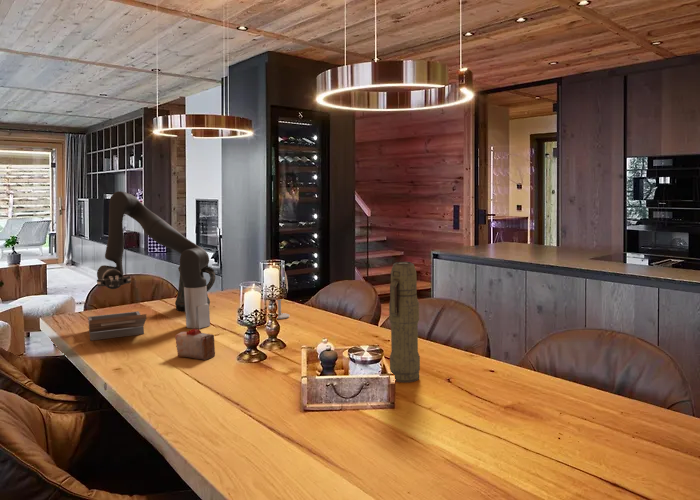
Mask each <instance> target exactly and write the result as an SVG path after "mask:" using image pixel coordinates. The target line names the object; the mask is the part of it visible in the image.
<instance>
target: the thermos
mask: <svg viewBox="0 0 700 500" xmlns="http://www.w3.org/2000/svg"><path fill="white" fill-rule="evenodd" d="M417 280H418V278H417V270H416V266H415V264H414V263H412V262H410V261H397V262H395V263H393V264H392V267H391V271H390V284H389V297H390V298H389V303H388V304H389V305H388V313H389V315H388V317H389V319H388V320H389V322H390V332H391V334H390V336H391V338H390V339H391V344H390V345H391V348H390V349H391V352H390V355H389V370H390V373H391V372H392V373H393V374H394V375H395V379H396V381H395V382H397V383H414V382H416V381H419V380H420V370H421V363H420V362H421V357H420V353H419V343H418V341H419V340H418V338H419V337H418V336H419V335H418V332H419V331H418V329H419V328H418V327H419V326H418V324H419V321H420V301H419V299H418V295H417V294H418V293H417V292H418V291H417V289H418V288H417V287H418V286H417V282H418V281H417Z"/></svg>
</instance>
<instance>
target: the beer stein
mask: <svg viewBox="0 0 700 500" xmlns="http://www.w3.org/2000/svg"><path fill="white" fill-rule="evenodd" d="M178 272H179V279H178V280H179V282H178V289H177V297H176V299H175V302H174V304H175V310H176V311H178V312H183V313H185V296H184V283H183V281H182V278H181V269H180V265H179V266H178ZM204 273H207V274H208V275H209V277H210V278H209V280H208V283H206V286H207V293H208V292H209V291H210V290H211V289H212V287H213V286H214V285H215V283H216V282H215V281H216V272H215V269H213V267H211V266H209V264H208V265H207V266H206V267H204V268H202V269H200V275H201V277H202V278H205V277H204V276H205V275H204ZM207 304H209V306H210V304H211V301H210V298H209V296H208V294H207Z"/></svg>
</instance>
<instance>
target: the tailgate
mask: <svg viewBox="0 0 700 500" xmlns="http://www.w3.org/2000/svg"><path fill="white" fill-rule="evenodd" d="M146 321H147V313H145V314H140V315H134V316H125V317H116V318H107V319H98V320H89V322H88V331H89V330H90V333H91V332H99V331H108V330H116V329H125V328H133V327H141V326H143V327H144V326H145V323H146Z"/></svg>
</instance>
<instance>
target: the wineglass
mask: <svg viewBox="0 0 700 500" xmlns="http://www.w3.org/2000/svg"><path fill="white" fill-rule="evenodd" d="M285 284H286V289H287V292H288V290H289V286H288V285H289V284H288V276H287V273H286V272H285ZM282 300H283V299H280V300H276V301H277V310H278V311H277V314H278V318H277V319H276V320H284V319H289V318H290V315H291V314H289V313H285V312H284V313H282Z"/></svg>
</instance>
